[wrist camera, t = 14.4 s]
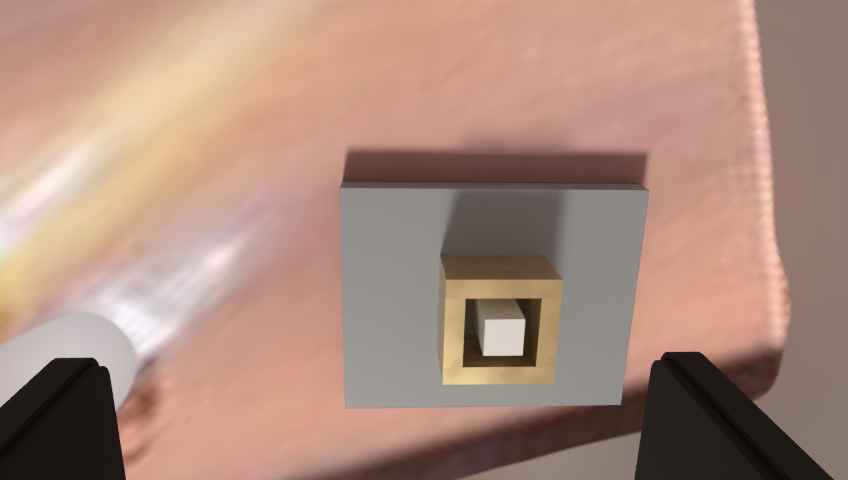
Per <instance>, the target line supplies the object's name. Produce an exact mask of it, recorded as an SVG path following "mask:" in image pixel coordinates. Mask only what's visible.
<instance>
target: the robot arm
mask: <svg viewBox="0 0 848 480" xmlns="http://www.w3.org/2000/svg"><path fill="white" fill-rule="evenodd" d="M0 480H126V477H125V470H124V464H123V457H122V451H121V444H120V438H119V431H118V425H117V418H116V412H115V406H114V399H113V392H112V387H111V380H110V374H109V371H108V369H107V368H106V367H105V366H99V364H98V362H97V361H96V360H95V359H94V358H55V359H54V360H52V361H51V362H50V363H49V364H47V365H46V366H45V367H44V368H43V369H42V370H41V371H40V372H39V373H38V374H36V375H35V376H34V377H33V378H32V379H31V380H30V381H29V382H28V383H27V384H26V385H24V386H23V387H22V388H21V389H20V390H19V391H18V392H17V393H16V394H15V395H14V396H12V397H11V398H10V399H9V400H8V401H7V402H6V403H5V404H4V405H3V406H2V407H0ZM634 480H834V479H833V478H831V476H829V475H828V474H827V473H826V472H825V471H824V470H823V469H822V468H821V467H820V466H819V465H818V464H817V463H816V462H815V461H814V460H813V459H812V458H811V457H810V456H809V455H808V454H806V453H805V452H804V451H803V450H802V449H801V448H800V447H799V446H798V445H797V444H796V443H795V442H794V441H793V440H792V439H791V438H790V437H789V436H788V435H787V434H786V433H785V432H783V431H782V430H781V429H780V428H779V427H778V426H777V425H776V424H775V423H774V422H773V421H772V420H771V419H770V418H769V417H768V416H767V415H766V414H765V413H764V412H762V410H761V409H759V408H758V407H757V406H756V405H755V404H754V403H753V402H752V401H751V400H750V399H749V398H748V397H747V396H746V395H745V394H744V393H743V392H742V391H741V390H740V389H739V388H738V387H737V386H735V385H734V384H733V383H732V382H731V381H730V380H729V379H728V378H727V377H726V376H725V375H724V374H723V373H722V372H721V371H720V370H719V369H718V368H717V367H716V366H715V365H714V364H713V363H711V362H710V361H709V360H708V359H707V358H706V357H705V356H704V355H703V354H702V353H700V352H666V353H664V354H663V356H662V357H661V360H656V361H654V362H653V364H652V367H651V372H650V379H649V385H648V392H647V399H646V405H645V412H644V419H643V425H642V432H641V439H640V445H639V452H638V460H637V465H636V472H635V479H634Z"/></svg>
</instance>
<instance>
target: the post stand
mask: <svg viewBox="0 0 848 480" xmlns="http://www.w3.org/2000/svg"><path fill="white" fill-rule="evenodd" d="M648 198H649V190H648V189H646V188H644V187H642V186H640V185H639V184H596V183H468V182H342V184H341V187H340V207H341V252H342V297H343V342H344V387H345V409H373V408H439V407H504V406H570V405H621V397H622V390H623V382H624V375H625V368H626V360H627V353H628V345H629V338H630V331H631V323H632V316H633V308H634V301H635V294H636V286H637V279H638V272H639V264H640V257H641V249H642V242H643V235H644V227H645V220H646V212H647V205H648ZM440 255H545V256H546V258H547V259H548V260H549V262H550V263H551V264H552V265H553V267H554V268H555V269H556V271H557V272H558V273H559V275H560V276H561V277H562V278H563V290H562V300H561V310H560V320H559V330H558V340H557V351H556V361H555V371H554V381H553V384H470V385H442V379H441V373H440V367H439V361H438V355H437V329H438V298H439V267H440ZM522 310H523V298H480V299H466V302H465V323H464V335H477V337H478V340H479V343H480V347H481V350H482V353H483V356H520V355H523V344H524V331H525V318H524V316H523V314H522Z"/></svg>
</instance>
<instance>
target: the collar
mask: <svg viewBox="0 0 848 480" xmlns="http://www.w3.org/2000/svg"><path fill="white" fill-rule="evenodd" d="M562 290H563V278H562V277H561V276H560V275H559V273H558V272H557V271H556V269H555V268H554V267H553V265H552V264H551V263H550V262H549V260H548V259H547V258H546V256H545V255H440V267H439V298H438V329H437V355H438V361H439V367H440V373H441V379H442V385H470V384H553V381H554V371H555V361H556V351H557V340H558V330H559V320H560V310H561V300H562ZM480 298H523V310H522V314H523V316H524V318H525V331H524V344H523V355H520V356H483V353H482V350H481V347H480V343H479V340H478V337H477V335H464V323H465V302H466V299H480Z"/></svg>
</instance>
